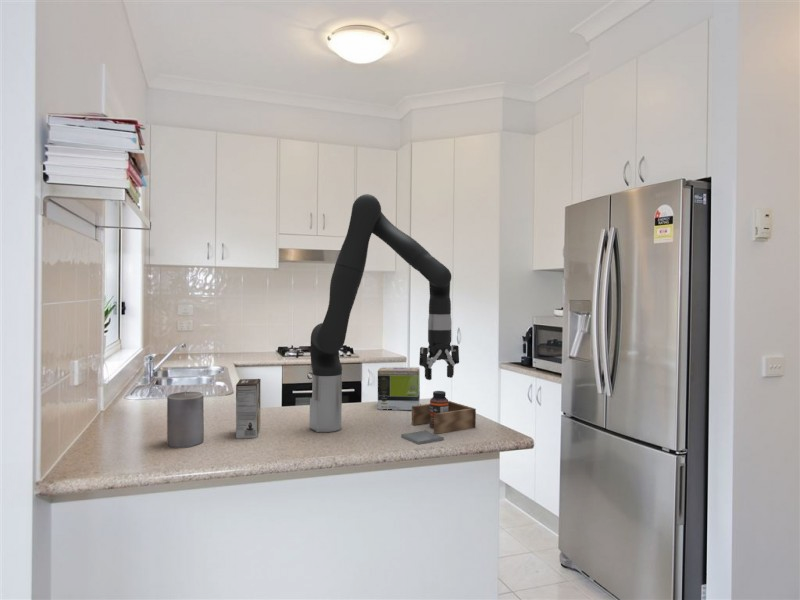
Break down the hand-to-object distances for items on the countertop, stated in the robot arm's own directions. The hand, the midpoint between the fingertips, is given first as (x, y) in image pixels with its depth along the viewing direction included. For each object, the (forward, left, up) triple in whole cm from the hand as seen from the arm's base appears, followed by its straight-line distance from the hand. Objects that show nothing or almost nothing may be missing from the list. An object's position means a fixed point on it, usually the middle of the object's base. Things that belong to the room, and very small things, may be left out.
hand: (439, 378), depth 175 cm
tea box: (+4, +30, -16) cm, 34 cm away
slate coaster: (-13, -9, -16) cm, 22 cm away
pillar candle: (-73, +22, -16) cm, 78 cm away
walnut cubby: (+1, 0, -16) cm, 16 cm away
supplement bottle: (0, 0, -16) cm, 16 cm away
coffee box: (-55, +22, -16) cm, 61 cm away
